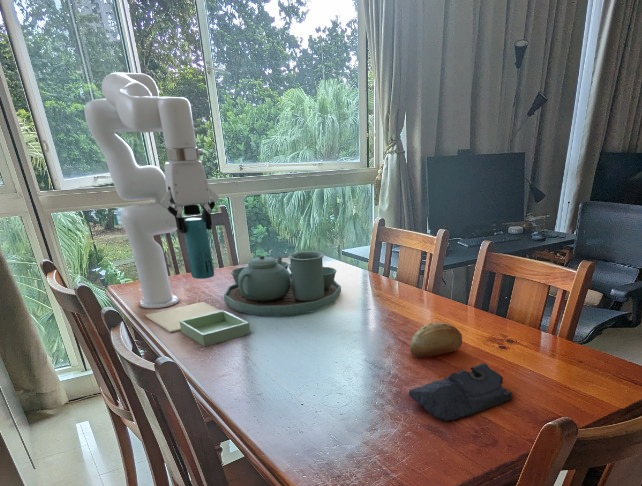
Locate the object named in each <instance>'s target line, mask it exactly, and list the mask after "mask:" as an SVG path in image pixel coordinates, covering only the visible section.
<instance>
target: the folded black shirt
mask: <svg viewBox="0 0 642 486" xmlns="http://www.w3.org/2000/svg"><path fill="white" fill-rule="evenodd" d="M470 370H471V371H468V370H465V369H462V370H460V371H458V372H452V373H450V374H449V375H448V376H446V377H445V378H444V379H441V380H433V381H432V382H429V383H426V384H424V385H422V386H418V387H414V388H412V389H409V391H408V397H410V398H411V399H413V401H415V402H416V403H417V404H419V405H420V406H421V407H423V408H424V410H425V411H427V413H429V414H431V415H432V416H434V417H435V418H437V419H439V420H441V421H445V422H450V421H455V420H460V419H463V418H466V417H468V416H473V415H475V414H478V413H481V412H483V411H485V410H488V409H491V408H493V407H495V406H499V405H502V404H504V403H505V402H507V401H510V400H511V399H512V398H513V395H512V392H511V391H509V390H507V388H504V387H503V384H504V383H503V381H504V377H503V376H502V375H501V374H500V373H498V372H497V371H496V370H494V369H492V368H490V366H489V365H488V364H487V363H485V362H482V363H479V364H478V365H475V366H471V367H470Z"/></svg>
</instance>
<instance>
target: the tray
mask: <svg viewBox="0 0 642 486" xmlns="http://www.w3.org/2000/svg"><path fill="white" fill-rule="evenodd" d="M179 323H180V327H181V330H180V331H181V333H182V334H184V335H186V336H187V337H189V338H191V339H192V340H194V341H195V342H197V343H198V344H200V345H202V346H203V347H208V346H211V345H214V344H218V343H222V342H225V341H229V340H232V339H236V338H240V337H243V336H246V335H250V334H251V327H250V322H248V321H247V320H245V319H243V318H241V317H239V316H237V315H234V314H233V313H231V312H228V311H226V310H223V309H222V310H220V311H219V312H215V313H211V314H207V315H203V316H198V317H194V318H190V319H186V320H182V321H179Z"/></svg>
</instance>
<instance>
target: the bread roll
mask: <svg viewBox="0 0 642 486" xmlns="http://www.w3.org/2000/svg"><path fill="white" fill-rule="evenodd" d="M462 344H463V334H462V332H460V330H459V329H458V328H457V327H455V325H452V324H449V323H446V322H430V323H426V324H424V325H422V326H421V327H420V328H418V330H417V331H416V332H415V333H414V334H413V336H412V338H411V341H410V343H409V351H410V355H412V356H413V357H415V358H428V357H434V356H437V355H443V354H447V353H452V352H456V351H458V350H459V349H460V348H461V347H462V346H463V345H462Z"/></svg>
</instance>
